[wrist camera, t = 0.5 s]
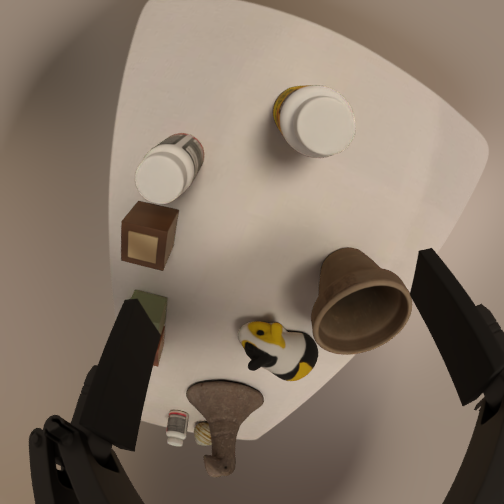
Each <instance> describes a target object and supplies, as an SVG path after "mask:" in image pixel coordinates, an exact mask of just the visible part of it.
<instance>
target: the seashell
mask: <svg viewBox="0 0 504 504" xmlns="http://www.w3.org/2000/svg"><path fill="white" fill-rule="evenodd" d="M194 434H195V440H196V443H197V444H198V445H204V446H205V445H212V442H211V434H210V429H209V424H208V423H204V422H202V423H199V424H198V425H196V427H195V429H194Z"/></svg>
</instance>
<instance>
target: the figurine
mask: <svg viewBox="0 0 504 504" xmlns="http://www.w3.org/2000/svg"><path fill="white" fill-rule="evenodd" d="M238 338H239V341H240V343H241V344H242V346H243V348H244V350H245V352H246V354H247V355H248V356H249V358H250V359H251V361H250V362H249V364H248V368H249V370H253V371H254V370H257V369H258V368H260V367H263V368H265V369H267V370H269V371H270V372H272V373H273V374H274V375H276V376H277V377H279V378H281V379H283V380H286V381H296V380H299V379H301V378H303V377H305V376H306V375H307V374H308V373H309V372H310V371H311V370H312V369H313V367H314V366H315V364H316V362H317V358H318V348H317V345H316V343H315V341H314V340H313V339H312V338H311V337H310V336H309V335H307V334H304V333H297V332H287V331H286V330H285V328H284V327H283V326H282V325H281V324H279V323H265V322H260V321H255V322H249V323H246V324H244V325H243V326H242V327H241V328H240V330H239V332H238Z"/></svg>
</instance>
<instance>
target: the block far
mask: <svg viewBox="0 0 504 504" xmlns="http://www.w3.org/2000/svg"><path fill="white" fill-rule="evenodd" d="M137 298H138V300H139V302H140V303H141V305H142V306H143V308H144V310H145V311H146V313H147V314H148V316H149V318H150V319H151V321H152V322H153V324H154V325H155V327H156V328H157V330H158V331H159V333H160V334H162V330H163V327H164V323H165V319H166V307H167V298H166V297H162V296H158V295H154V294H150V293H146V292H142V291H139V290H134V293H133V295H132V297H131V299H137Z"/></svg>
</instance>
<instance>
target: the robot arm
mask: <svg viewBox="0 0 504 504" xmlns="http://www.w3.org/2000/svg"><path fill="white" fill-rule="evenodd" d="M410 296H411V298H412V299H413V301H414V303H415V305H416V307H417V309H418V310H419V312H420V314H421V316H422V318H423V320H424V321H425V323H426V325H427V327H428V329H429V331H430V333H431V335H432V337H433V339H434V341H435V343H436V345H437V347H438V349H439V351H440V354H441V356H442V358H443V360H444V362H445V365H446V367H447V369H448V371H449V374H450V376H451V378H452V381H453V383H454V385H455V388H456V390H457V393H458V396H459V398H460V401H461V403H462V406H465V405H467V404H469V403H470V402H472V401H474V400H476V399H477V398H478V397H479V396H480V395H481V394H482V393H484V396H485V397H484V398H483V399H482V400H481V401H480V402H479V403H478V404H477V405H476V407H475V409H474V410H477V409H478V408H479V407H480V406H481V408H480V410H479V411H480V412H479V416H478V419H477V422H476V426H475V429H474V432H473V435H472V438H471V441H470V444H469V446H468V449H467V452H466V454H465V457H464V459H463V462H462V465H461V467H460V469H459V471H458V473H457V476H456V478H455V480H454V482H453V484H452V487H451V488H450V491H449V492H448V494H447V496H446V498H445V500H444V502H443V503H442V504H504V332H503V331H502V330H501V327H500V326H499V324H498V323H497V322H496V319H495V318H494V316H493V315H492V313H491V312H490V311H489V310H488V309H487V308H486V307H484V306H483V305H482V304H480V305H477V306H475V304H474V303H473V301H472V300H471V298H470V297H469V296H468V294H467V293H466V292H465V290H464V289H463V287H462V286H461V284H460V283H459V282H458V280H457V279H456V278H455V276H454V275H453V274H452V273H451V271H450V270H449V269H448V267H447V266H446V265H445V264H444V262H443V261H442V260H441V258H440V257H439V256H438V255H437V254H436V252H435V251H434V250H433V249H432V248H430V249H425V250H421V251H419V253H418V259H417V264H416V269H415V274H414V279H413V283H412V288H411V292H410ZM160 337H161V334H160V333H159V331H158V330H157V328H156V327H155V325H154V324H153V322H152V321H151V319H150V318H149V316H148V314H147V313H146V311H145V310H144V308H143V306H142V305H141V303H140V302H139V300H138V298H137V299H129V300H125V301H124V303H123V305H122V307H121V310H120V312H119V314H118V317H117V319H116V321H115V324H114V326H113V328H112V331H111V333H110V336H109V338H108V341H107V343H106V345H105V348H104V351H103V353H102V356H101V358H100V361H99V364H98V366H97V365H94V366H93V367H92V369H91V370H90V371H89V373H88V374H87V377H86V379H85V382H84V386H83V388H82V391H81V394H80V396H79V399H78V402H77V406H76V409H75V412H74V415H73V418H72V421H71V423H69V422H67V421H65V420H64V419H63V418H61V417H60V416H58V415H53V416H50V417H49V418H48V419H47V420H46V422H45V424H44V428H43V430H42V429H41V428H36V429H34V430H33V431H32V432H31V434H30V437H29V455H30V469H31V478H32V486H33V492H34V498H35V504H144V502H143V501H142V499H141V498H140V496H139V495H138V493H137V491H136V490H135V488H134V486H133V485H132V483H131V481H130V480H129V478H128V476H127V474H126V472H125V471H124V469H123V467H122V465H121V463H120V461H119V459H118V457H117V455H116V453H115V452H114V450H113V449H112V444H113V445H114V446H116V447H118V448H120V449H125V450H129V451H135V446H136V441H137V435H138V430H139V425H140V420H141V416H142V411H143V406H144V402H145V397H146V393H147V388H148V384H149V380H150V376H151V372H152V368H153V364H154V360H155V356H156V352H157V348H158V344H159V341H160ZM56 464H58V465H60V466H61V470H57V469H56Z"/></svg>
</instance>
